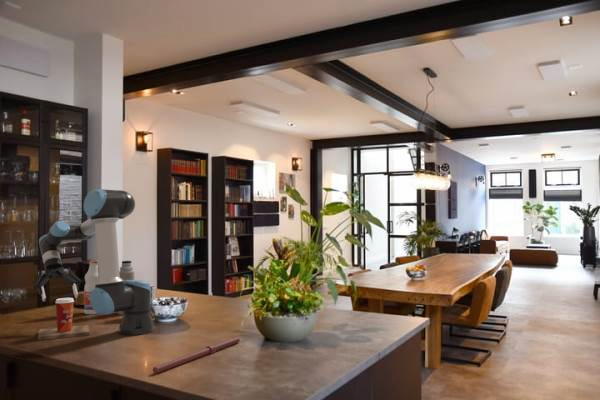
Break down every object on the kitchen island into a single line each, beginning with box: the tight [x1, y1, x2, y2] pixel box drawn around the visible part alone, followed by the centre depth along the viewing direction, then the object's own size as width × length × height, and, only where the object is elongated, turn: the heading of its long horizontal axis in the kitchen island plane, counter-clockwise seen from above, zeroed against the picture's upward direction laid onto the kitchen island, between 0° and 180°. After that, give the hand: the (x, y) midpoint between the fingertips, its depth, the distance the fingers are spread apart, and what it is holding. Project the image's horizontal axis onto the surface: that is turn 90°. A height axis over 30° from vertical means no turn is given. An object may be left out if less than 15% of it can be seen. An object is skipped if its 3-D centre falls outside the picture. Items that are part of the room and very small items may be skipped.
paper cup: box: [54, 297, 75, 332], centre depth 213 cm, size 8×8×14 cm
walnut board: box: [37, 324, 90, 341], centre depth 213 cm, size 20×14×2 cm
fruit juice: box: [83, 259, 99, 315], centre depth 258 cm, size 9×9×28 cm
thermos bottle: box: [117, 260, 135, 316], centre depth 257 cm, size 8×8×28 cm
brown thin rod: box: [152, 337, 241, 375], centre depth 180 cm, size 45×3×3 cm, turn 149°
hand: (60, 298), depth 217 cm, fingers open, 13 cm apart
